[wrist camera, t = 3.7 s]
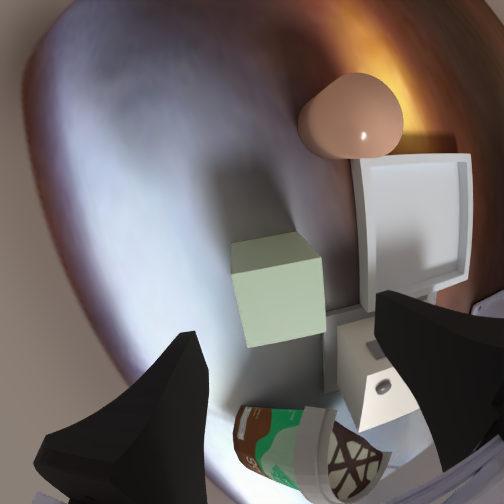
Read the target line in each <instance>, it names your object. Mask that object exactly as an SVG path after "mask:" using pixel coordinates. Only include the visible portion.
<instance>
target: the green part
mask: <svg viewBox="0 0 504 504" xmlns="http://www.w3.org/2000/svg"><path fill="white" fill-rule="evenodd" d="M231 277H232V282H233V287H234V291H235V296H236V300H237V305H238V309H239V313H240V318H241V322H242V327H243V331H244V335H245V340H246V344H247V348H251V347H257V346H262V345H267V344H273V343H278V342H283V341H288V340H292V339H297V338H302V337H306V336H311V335H315V334H319V333H323V332H326V313H325V297H324V282H323V270H322V258H321V256H320V255H319V254H318V253H317V252H316V251H315V250H314V249H313V248H312V247H311V246H310V245H309V244H308V243H307V242H306V240H305V239H304V238H303V237H302V236H301V235H300V234H299V233H298V232H297V231H296V232H290V233H285V234H279V235H274V236H268V237H263V238H257V239H252V240H247V241H241V242H236V243H231Z"/></svg>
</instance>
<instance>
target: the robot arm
mask: <svg viewBox="0 0 504 504" xmlns="http://www.w3.org/2000/svg"><path fill="white" fill-rule="evenodd" d="M374 336H375V338H376V340H377V342H378V344H379V346H380V348H381V349H382V351H383V353H384V355H385V356H386V357H387V359H388V360H389V362H390V363H391V364H392V366H393V367H394V368H395V370H396V371H397V373H398V374H399V375H400V377H401V378H402V380H403V381H404V382H405V384H406V385H407V387H408V388H409V389H410V391H411V393H412V394H413V396H414V398H415V400H416V402H417V404H418V406H419V407H420V409H421V411H422V414H423V416H424V418H425V420H426V423H427V425H428V427H429V429H430V432H431V435H432V437H433V440H434V443H435V446H436V449H437V452H438V455H439V459H440V462H441V466H442V471H443V473H442V474H441V475H439V476H437V477H436V478H434V479H432V480H430V481H428V482H426V483H424V484H422V485H420V486H418V487H416V488H414V489H412V490H410V491H408V492H406V493H404V494H402V495H400V496H397V497H395V498H393V499H390V500H388V501H386V502H383V503H381V504H429V503H431V502H433V501H435V500H436V499H438V498H440V497H441V496H443V495H445V494H446V493H448V492H450V491H451V490H453V489H454V488H456V487H457V486H459V485H461V484H462V483H464V482H465V481H466V480H468V479H469V478H470V477H472V476H473V477H472V478H471V479H470V480H469V481H467V482H466V483H465V484H464V485H462V486H461V487H459V488H458V489H457V490H456V491H455V492H454V493H453V494H452V495H451V496H450V497H449V498H448V499H447V500H446V501H444V502H443V503H442V504H504V290H502V291H500V292H498V293H496V294H494V295H492V296H491V297H489V298H487V299H485V300H483V301H481V302H479V303H477V304H475V305H474V306H473V308H472V311H471V314H466V313H461V312H457V311H453V310H449V309H446V308H443V307H439V306H436V305H433V304H430V303H427V302H424V301H421V300H419V299H416V298H413V297H410V296H407V295H405V294H402V293H399V292H395V291H391V290H386V291H383V292H379V293H376V302H375V323H374ZM208 398H209V370H208V367H207V364H206V362H205V359H204V356H203V353H202V350H201V347H200V344H199V341H198V338H197V335H196V332H195V331H190V332H182V333H179V334H178V335H177V337H176V338H175V339H174V340H173V341H172V342H171V344H170V345H169V346H168V347H167V348H166V350H165V351H164V352H163V353H162V354H161V356H160V357H159V358H158V359H157V360H156V361H155V362H154V364H153V365H152V366H151V367H150V368H149V369H148V370H147V371H146V372H145V373H144V374H143V375H142V376H141V377H140V378H139V379H138V380H137V381H136V382H135V383H134V384H133V385H132V386H131V387H130V388H128V389H127V390H126V391H125V392H124V393H122V394H121V395H120V396H119V397H117V398H116V399H115V400H113V401H112V402H110V403H109V404H108V405H106V406H105V407H103V408H102V409H100V410H99V411H97V412H96V413H94V414H92V415H90V416H89V417H87V418H85V419H83V420H81V421H79V422H77V423H75V424H73V425H71V426H69V427H66V428H64V429H61V430H59V431H56V432H54V433H51V434H48V435H46V436H45V438H44V440H43V442H42V445H41V447H40V449H39V451H38V453H37V456H36V458H35V460H34V462H33V464H34V467H35V469H36V471H37V472H38V473H39V474H40V475H41V476H42V477H43V478H44V479H45V480H46V481H48V482H49V483H50V484H51V485H53V486H54V487H55V488H57V489H58V490H59V491H60V492H62V493H63V494H64V495H66V496H67V497H69V498H70V500H69V503H68V504H207V495H206V485H205V469H204V434H205V425H206V416H207V407H208ZM32 504H66V503H64V502H62V501H60V500H58V499H55V498H53V497H50V496H48V495H46V494H43V493H41V492H39V491H37V492H36V493H35V496H34V499H33V501H32Z"/></svg>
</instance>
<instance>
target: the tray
mask: <svg viewBox="0 0 504 504" xmlns="http://www.w3.org/2000/svg"><path fill="white" fill-rule="evenodd" d="M350 162H351V169H352V177H353V186H354V195H355V205H356V217H357V230H358V247H359V274H360V304H361V306H362V307H363V308H364V309H365V310H366V311H367V313H369V312H373V311H375V302H376V293H379V292H383V291H386V290H391V291H395V292H399V293H402V294H405V295H407V296H410V297H413V298H418V297H421V296H424V295H427V294H430V293H433V292H435V291H438V290H441V289H444V288H447V287H449V286H452V285H455V284H457V283H460V282H462V281H465V280H468V273H469V265H470V256H471V244H472V227H473V181H472V165H471V154H465V153H422V154H397V155H385V156H382V157H379V158H359V159H350Z"/></svg>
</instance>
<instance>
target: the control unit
mask: <svg viewBox="0 0 504 504" xmlns="http://www.w3.org/2000/svg"><path fill="white" fill-rule="evenodd" d="M436 296H437V291H435V292H433V293H430V294H427V295H424V296H421V297H418V298H416V299H419V300H421V301H424V302H427V303H430V304H433V305H435V303H436ZM325 313H326V332H323V333H322V352H323V384H324V392H325V395H326V394H330V393H334V392H337V391H340V392H341V394H342V396H343V399H344V401H345V403H346V405H347V408H348V410H349V412H350V414H351V417H352V419H353V421H354V424H355V426H356V428H357V430H358V432H361V431H364V430H367V429H370V428H373V427H376V426H378V425H381V424H384V423H386V422H389V421H391V420H394V419H396V418H398V417H401V416H403V415H405V414H408V413H410V412H412V411H414V410H417V409H419V408H420V407H419V406H418V404H417V402H416V400H415V398H414V396H413V394H412V393H411V391H410V389H409V388H408V387H407V385H406V384H405V382H404V381H403V380H402V378H401V377H400V375H399V374H398V373H397V371H396V370H395V368H394V367H393V366H392V364H391V363H390V362H389V360H388V359H387V357H386V356H385V355H384V353H383V351H382V349H381V348H380V346H379V344H378V342H377V340H376V338H375V336H374V323H375V311H373V312H369V313H367V311H366V310H365V309H364V308H363V307H362V306H361V304H356V305H352V306H348V307H344V308H340V309H336V310H332V311H328V312H325Z"/></svg>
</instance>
